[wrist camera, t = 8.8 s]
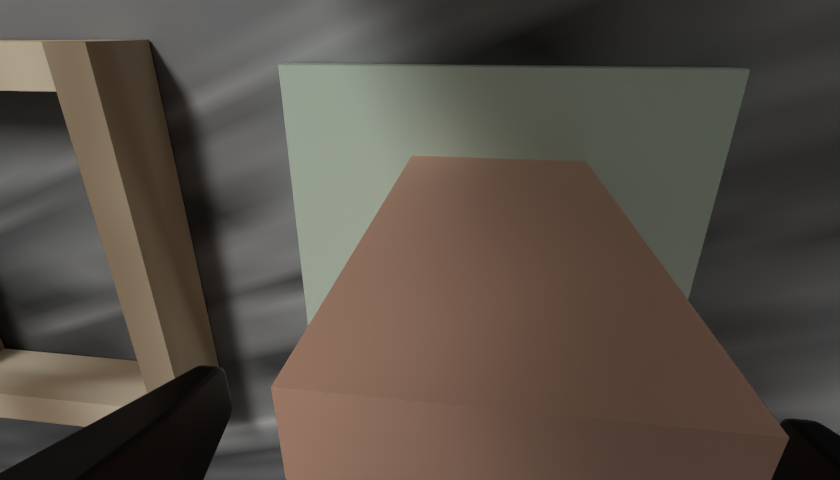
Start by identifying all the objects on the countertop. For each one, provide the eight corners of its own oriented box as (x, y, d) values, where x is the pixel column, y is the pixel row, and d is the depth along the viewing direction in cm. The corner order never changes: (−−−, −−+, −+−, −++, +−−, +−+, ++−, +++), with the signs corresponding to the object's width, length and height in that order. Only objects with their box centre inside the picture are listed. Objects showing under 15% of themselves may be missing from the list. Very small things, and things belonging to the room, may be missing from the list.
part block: (586, 161, 11) (789, 437, 3) (554, 372, 13) (635, 793, 6) (411, 155, 11) (270, 386, 4) (412, 360, 14) (327, 734, 6)
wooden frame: (148, 39, 12) (84, 41, 10) (224, 392, 16) (190, 438, 14) (-163, 38, 13) (-273, 39, 11) (-10, 369, 17) (-69, 409, 15)
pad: (736, 67, 10) (750, 69, 10) (644, 421, 14) (651, 436, 14) (288, 63, 11) (278, 64, 11) (322, 390, 15) (316, 403, 15)
